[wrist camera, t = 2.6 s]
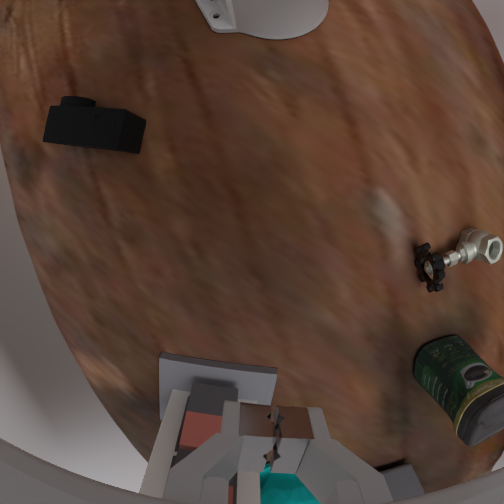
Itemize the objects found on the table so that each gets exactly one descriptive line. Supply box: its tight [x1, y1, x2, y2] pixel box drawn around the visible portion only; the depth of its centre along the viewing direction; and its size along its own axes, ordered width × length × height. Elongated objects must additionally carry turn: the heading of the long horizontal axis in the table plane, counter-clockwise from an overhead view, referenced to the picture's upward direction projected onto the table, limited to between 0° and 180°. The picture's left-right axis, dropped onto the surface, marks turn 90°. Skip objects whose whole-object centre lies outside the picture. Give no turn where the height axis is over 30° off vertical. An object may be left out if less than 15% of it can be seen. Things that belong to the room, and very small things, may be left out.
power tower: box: [139, 352, 278, 504], centre depth 30 cm, size 12×16×27 cm
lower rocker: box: [180, 382, 238, 451], centre depth 34 cm, size 1×6×10 cm, turn 82°
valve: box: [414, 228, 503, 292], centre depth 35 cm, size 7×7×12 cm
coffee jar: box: [414, 336, 504, 446], centre depth 33 cm, size 10×8×19 cm
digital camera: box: [43, 96, 146, 154], centre depth 31 cm, size 10×5×7 cm, turn 78°
